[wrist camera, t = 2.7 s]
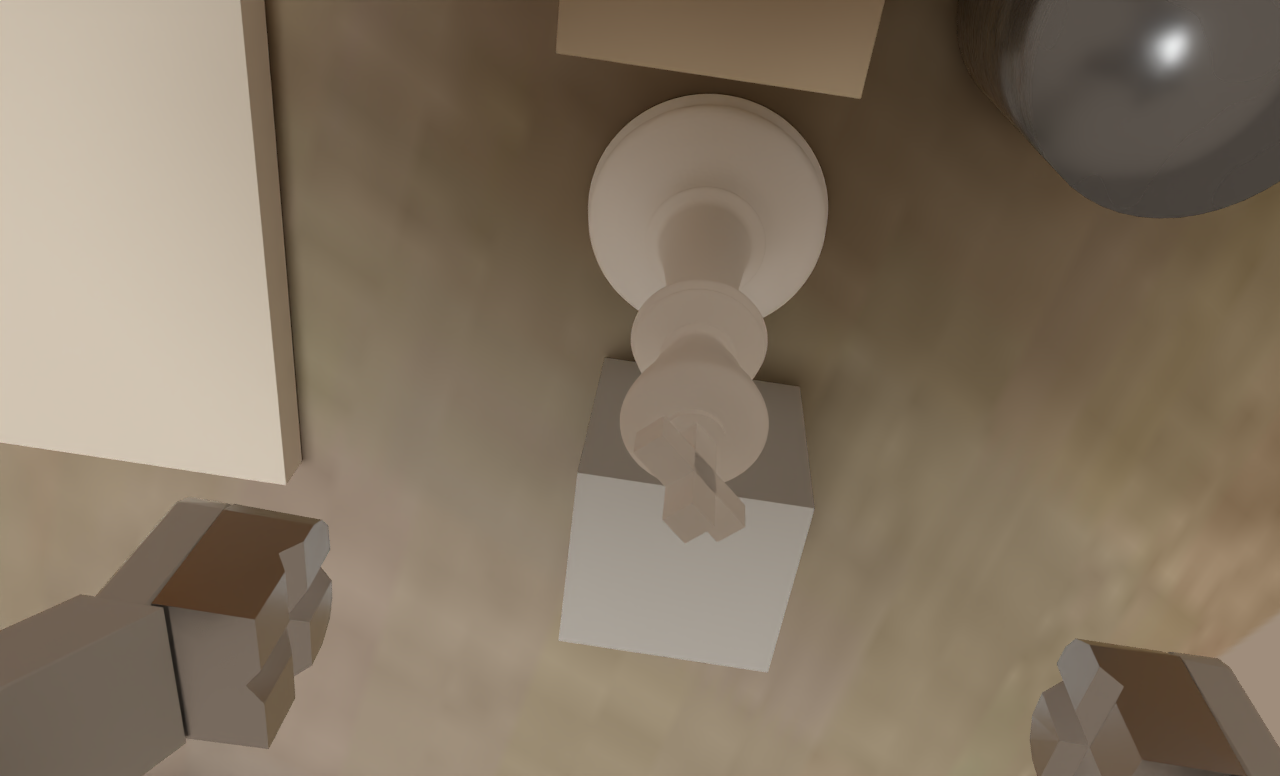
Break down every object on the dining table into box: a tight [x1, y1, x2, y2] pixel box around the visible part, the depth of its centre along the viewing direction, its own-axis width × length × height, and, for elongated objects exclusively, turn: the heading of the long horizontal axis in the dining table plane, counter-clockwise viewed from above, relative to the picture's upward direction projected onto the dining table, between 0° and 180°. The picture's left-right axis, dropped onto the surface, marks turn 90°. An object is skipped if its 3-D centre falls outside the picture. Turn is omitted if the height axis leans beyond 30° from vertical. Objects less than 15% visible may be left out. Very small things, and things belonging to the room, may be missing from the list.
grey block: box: [559, 358, 815, 673], centre depth 21 cm, size 4×4×4 cm
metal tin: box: [957, 0, 1280, 218], centre depth 15 cm, size 4×4×5 cm
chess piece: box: [588, 94, 828, 543], centre depth 15 cm, size 5×5×10 cm
